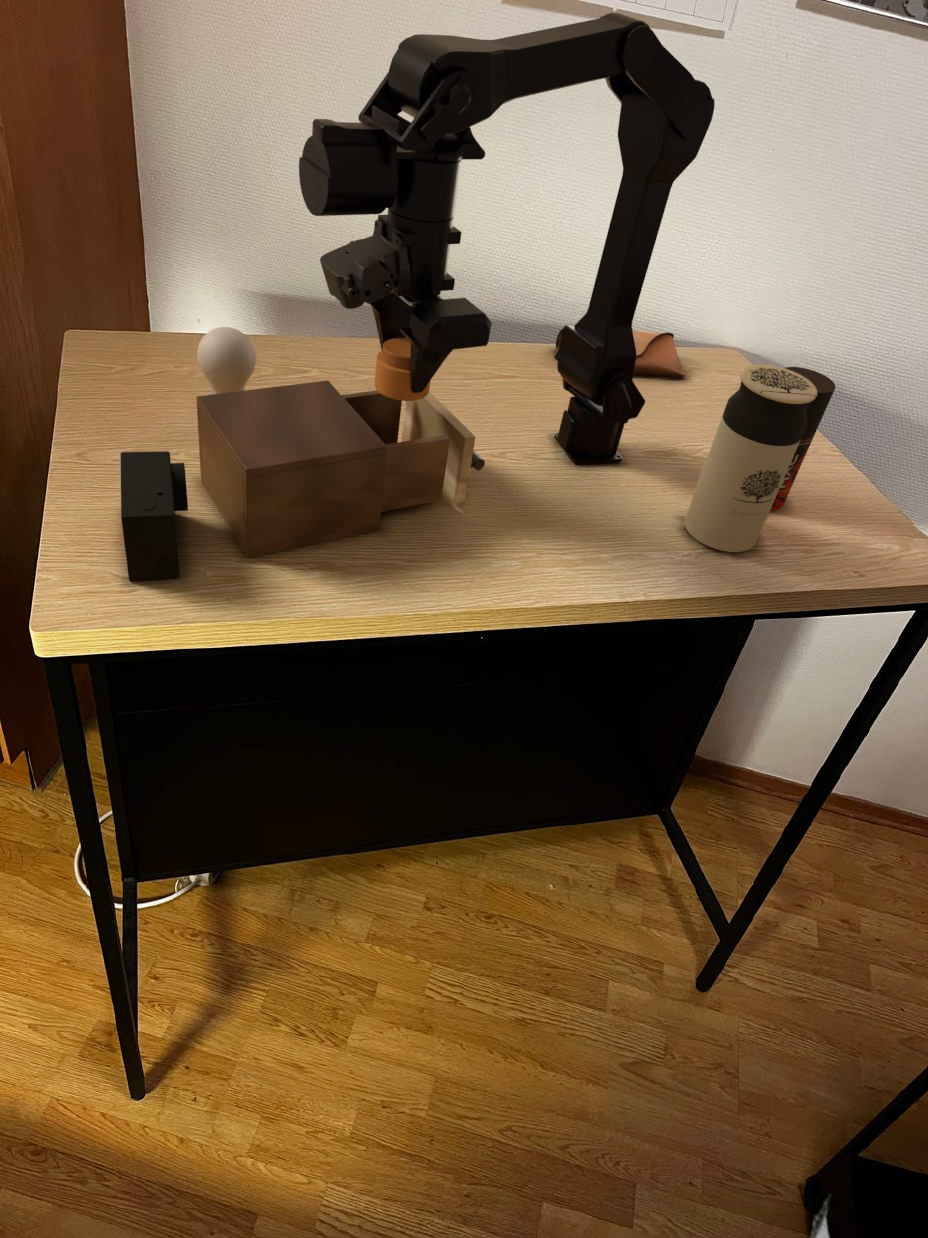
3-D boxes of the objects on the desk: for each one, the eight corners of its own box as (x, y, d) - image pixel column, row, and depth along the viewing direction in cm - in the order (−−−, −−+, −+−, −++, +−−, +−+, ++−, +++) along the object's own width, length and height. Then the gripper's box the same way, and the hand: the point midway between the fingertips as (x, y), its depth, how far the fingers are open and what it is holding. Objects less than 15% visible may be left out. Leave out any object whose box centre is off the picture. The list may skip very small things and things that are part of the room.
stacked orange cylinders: (420, 374, 91) (425, 335, 88) (435, 400, 87) (441, 360, 85) (368, 375, 89) (371, 335, 86) (382, 401, 85) (385, 360, 83)
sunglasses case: (571, 372, 123) (573, 321, 122) (553, 375, 130) (555, 327, 128) (690, 377, 127) (693, 328, 126) (667, 380, 134) (670, 334, 133)
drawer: (441, 437, 104) (450, 375, 99) (497, 495, 96) (510, 430, 91) (306, 460, 96) (309, 393, 91) (356, 524, 88) (361, 455, 83)
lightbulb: (189, 425, 100) (183, 330, 92) (221, 404, 104) (217, 312, 97) (237, 442, 98) (234, 347, 91) (267, 420, 103) (267, 328, 96)
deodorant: (756, 515, 102) (807, 395, 93) (723, 487, 106) (768, 369, 96) (793, 507, 105) (847, 389, 95) (760, 480, 109) (808, 364, 99)
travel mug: (678, 507, 101) (731, 357, 90) (747, 517, 102) (808, 369, 90) (689, 549, 95) (747, 393, 84) (762, 559, 96) (830, 406, 84)
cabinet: (324, 461, 98) (328, 379, 92) (379, 530, 90) (387, 446, 84) (200, 481, 92) (196, 396, 86) (247, 558, 83) (246, 469, 77)
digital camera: (194, 578, 80) (189, 514, 76) (129, 582, 79) (121, 516, 74) (187, 512, 88) (182, 449, 83) (127, 514, 86) (120, 450, 81)
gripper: (291, 177, 79) (288, 344, 89) (386, 255, 68) (370, 437, 78) (402, 176, 85) (387, 335, 95) (508, 249, 73) (478, 420, 83)
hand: (402, 378), depth 88 cm, fingers closed on stacked orange cylinders, 5 cm apart
